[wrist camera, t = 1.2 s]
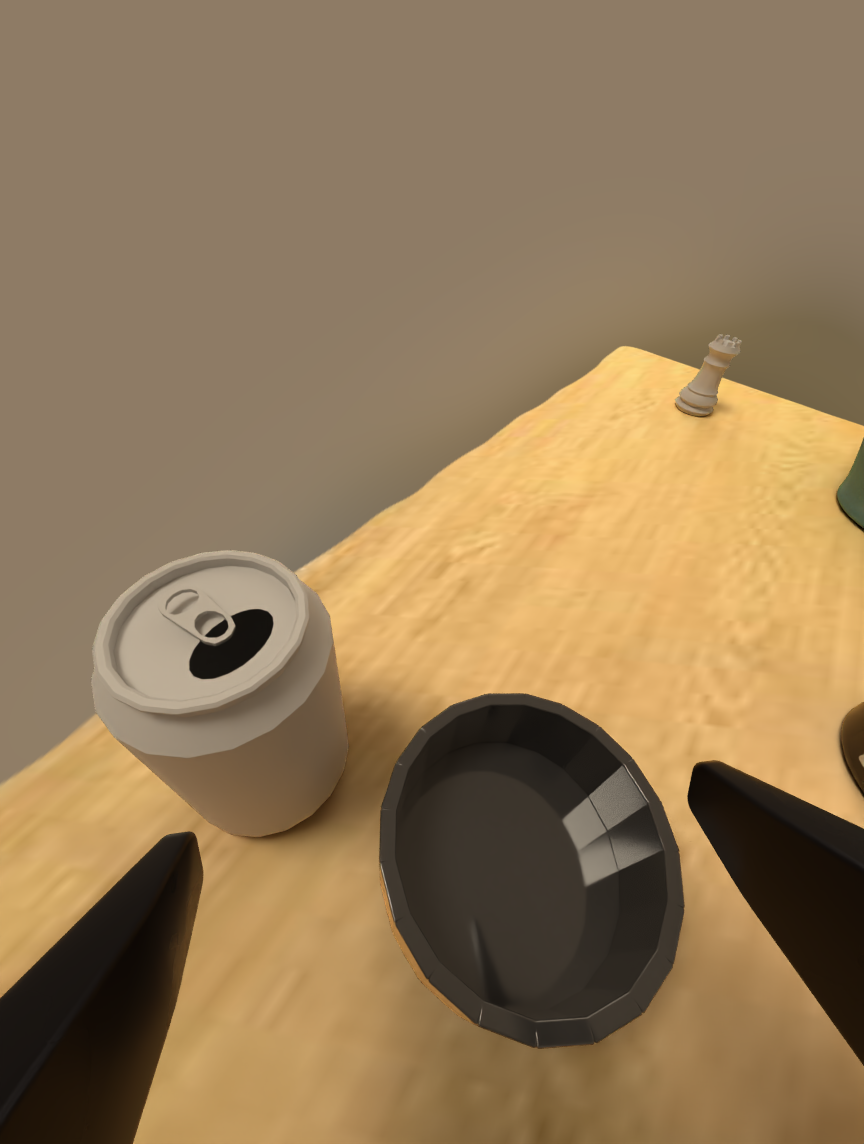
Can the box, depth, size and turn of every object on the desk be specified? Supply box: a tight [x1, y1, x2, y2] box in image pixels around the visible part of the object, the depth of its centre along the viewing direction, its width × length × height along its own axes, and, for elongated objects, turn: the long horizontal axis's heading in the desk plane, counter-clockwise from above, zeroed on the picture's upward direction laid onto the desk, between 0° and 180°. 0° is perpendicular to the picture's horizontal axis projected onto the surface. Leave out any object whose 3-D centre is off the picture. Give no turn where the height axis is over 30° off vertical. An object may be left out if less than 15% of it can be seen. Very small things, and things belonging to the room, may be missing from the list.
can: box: [91, 550, 349, 837], centre depth 18 cm, size 8×8×12 cm
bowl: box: [379, 693, 684, 1049], centre depth 18 cm, size 11×11×5 cm
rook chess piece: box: [675, 334, 742, 416], centre depth 51 cm, size 4×4×8 cm
